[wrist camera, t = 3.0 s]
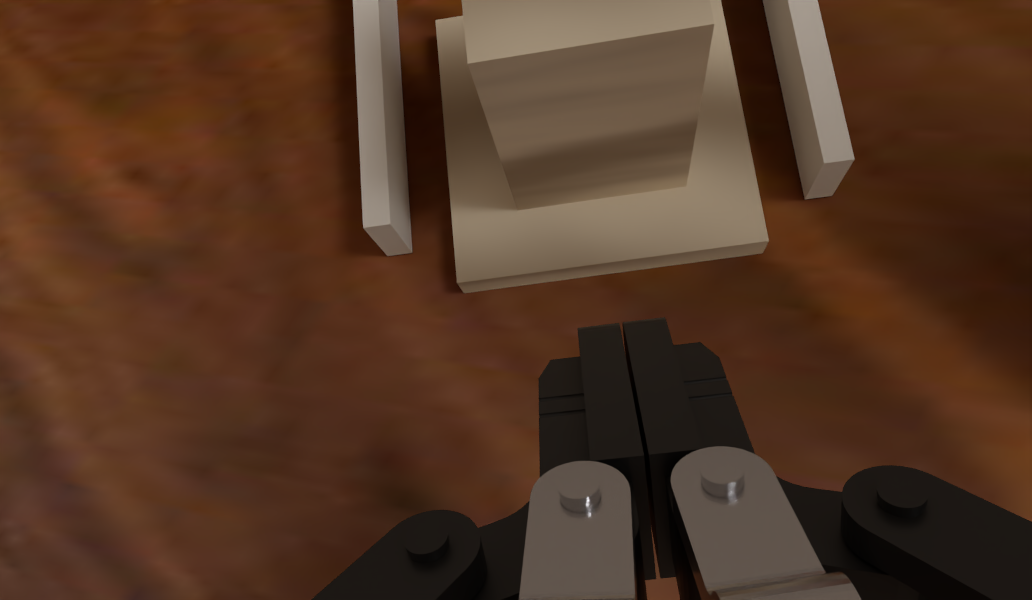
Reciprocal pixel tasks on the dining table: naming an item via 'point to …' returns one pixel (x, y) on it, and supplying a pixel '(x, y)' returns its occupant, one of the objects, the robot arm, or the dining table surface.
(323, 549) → the dining table surface
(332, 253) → the dining table surface
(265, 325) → the dining table surface
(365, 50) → the ladder rail frame
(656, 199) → the pawn block
